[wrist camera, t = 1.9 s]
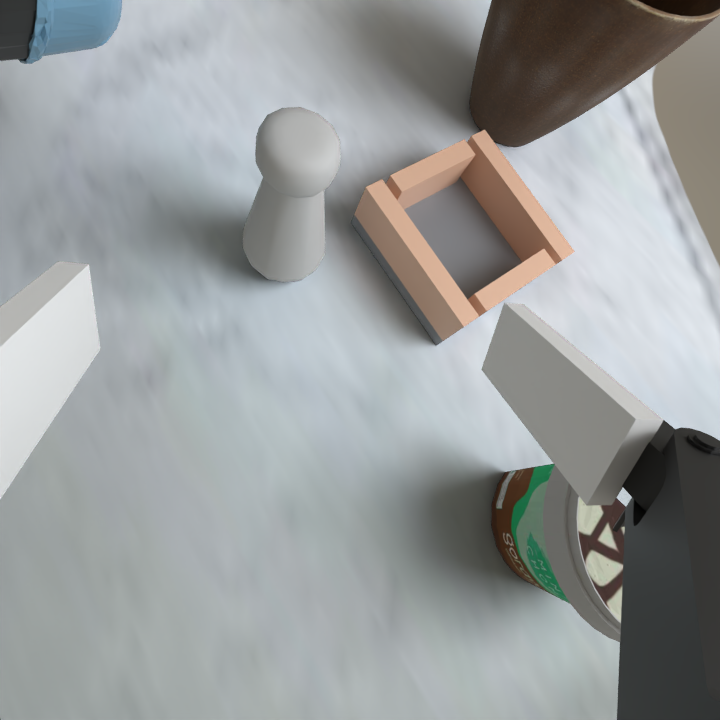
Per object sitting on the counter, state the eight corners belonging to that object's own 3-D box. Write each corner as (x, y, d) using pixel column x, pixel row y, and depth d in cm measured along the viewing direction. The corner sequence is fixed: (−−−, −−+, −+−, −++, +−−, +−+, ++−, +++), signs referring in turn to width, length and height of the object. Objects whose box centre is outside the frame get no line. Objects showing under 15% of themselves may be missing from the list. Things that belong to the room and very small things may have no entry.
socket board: (350, 222, 36) (365, 187, 31) (458, 167, 40) (484, 129, 35) (436, 345, 35) (463, 326, 31) (537, 276, 39) (574, 251, 35)
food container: (441, 520, 32) (524, 539, 22) (492, 457, 34) (586, 451, 24) (562, 646, 32) (696, 718, 22) (605, 575, 34) (744, 614, 24)
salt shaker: (311, 220, 35) (346, 83, 23) (327, 287, 34) (373, 182, 22) (235, 227, 33) (228, 84, 21) (250, 298, 32) (252, 191, 20)
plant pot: (576, 83, 46) (734, -105, 31) (569, 203, 42) (749, 52, 27) (443, 29, 44) (547, -205, 29) (422, 152, 39) (531, -47, 24)
